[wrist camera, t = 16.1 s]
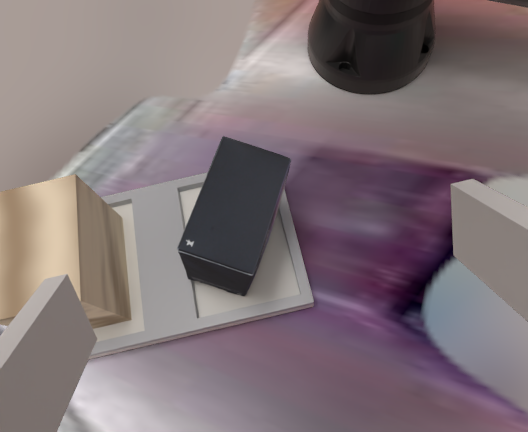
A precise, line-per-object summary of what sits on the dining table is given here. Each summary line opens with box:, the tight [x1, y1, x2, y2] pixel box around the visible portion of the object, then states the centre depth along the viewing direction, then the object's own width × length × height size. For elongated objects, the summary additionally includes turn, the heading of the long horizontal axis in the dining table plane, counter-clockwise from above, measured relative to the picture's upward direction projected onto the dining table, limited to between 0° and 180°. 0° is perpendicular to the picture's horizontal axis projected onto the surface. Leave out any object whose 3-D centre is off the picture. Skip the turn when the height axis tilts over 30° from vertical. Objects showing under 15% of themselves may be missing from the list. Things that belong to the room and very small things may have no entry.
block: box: [0, 174, 132, 329], centre depth 38 cm, size 7×11×10 cm, turn 12°
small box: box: [177, 136, 291, 296], centre depth 37 cm, size 11×6×10 cm, turn 163°
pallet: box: [88, 172, 314, 360], centre depth 43 cm, size 27×16×2 cm, turn 102°
